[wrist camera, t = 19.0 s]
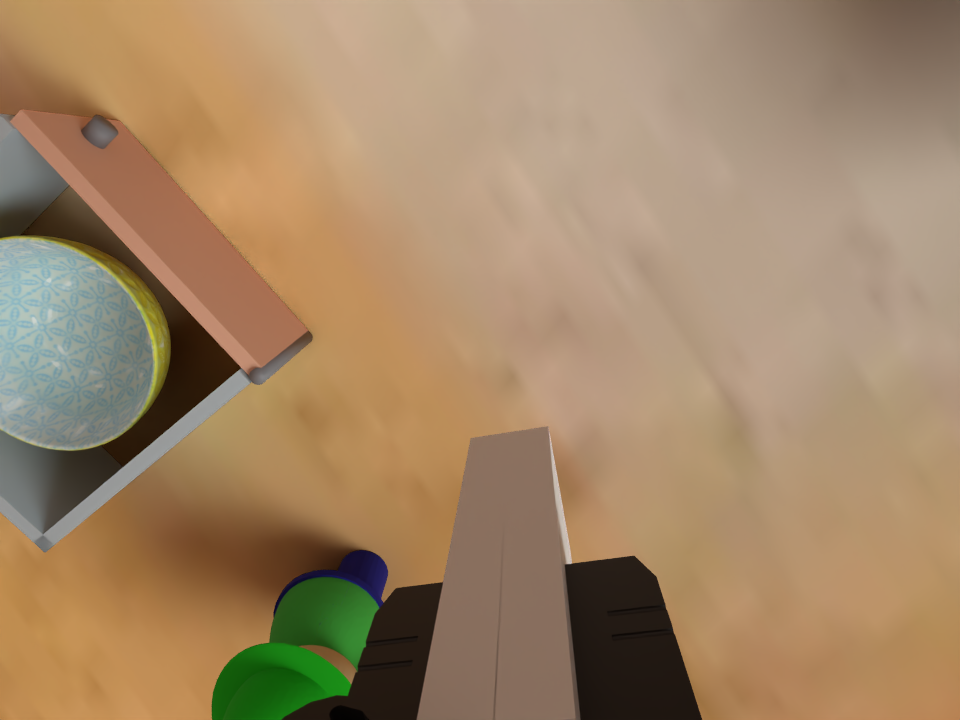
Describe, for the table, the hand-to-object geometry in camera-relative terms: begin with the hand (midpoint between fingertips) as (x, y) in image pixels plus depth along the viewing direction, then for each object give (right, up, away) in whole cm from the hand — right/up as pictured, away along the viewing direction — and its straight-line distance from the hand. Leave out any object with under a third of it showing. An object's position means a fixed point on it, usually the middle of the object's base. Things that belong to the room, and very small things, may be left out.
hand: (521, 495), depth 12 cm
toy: (-10, -12, +30) cm, 34 cm away
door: (-15, +10, +24) cm, 30 cm away
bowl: (-23, +5, +26) cm, 35 cm away
